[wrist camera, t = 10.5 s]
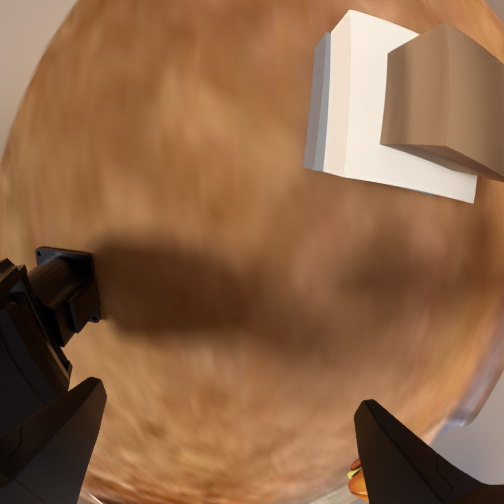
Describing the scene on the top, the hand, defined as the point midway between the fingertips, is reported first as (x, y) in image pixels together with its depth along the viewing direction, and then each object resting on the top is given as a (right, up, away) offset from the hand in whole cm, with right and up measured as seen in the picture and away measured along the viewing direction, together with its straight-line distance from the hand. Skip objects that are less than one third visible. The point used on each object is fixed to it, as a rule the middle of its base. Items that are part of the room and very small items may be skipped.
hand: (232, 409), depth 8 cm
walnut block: (+9, +12, +3) cm, 15 cm away
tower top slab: (+9, +14, +6) cm, 18 cm away
